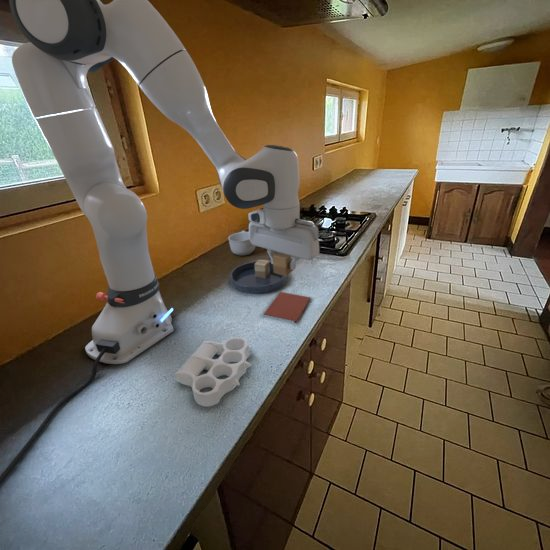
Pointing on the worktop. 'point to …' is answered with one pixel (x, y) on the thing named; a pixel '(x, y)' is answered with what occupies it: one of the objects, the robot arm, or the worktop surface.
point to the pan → (255, 279)
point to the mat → (288, 306)
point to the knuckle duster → (215, 369)
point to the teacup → (241, 243)
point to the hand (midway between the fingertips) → (283, 266)
